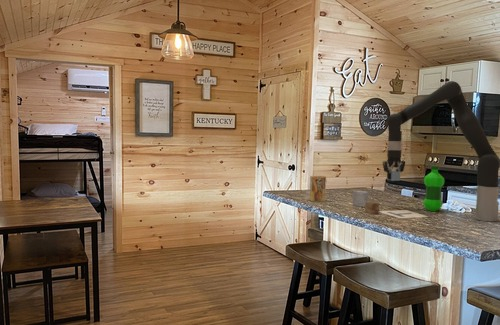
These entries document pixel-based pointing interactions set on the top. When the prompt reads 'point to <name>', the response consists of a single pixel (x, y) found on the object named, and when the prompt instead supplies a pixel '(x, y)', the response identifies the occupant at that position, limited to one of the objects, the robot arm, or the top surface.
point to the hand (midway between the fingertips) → (393, 179)
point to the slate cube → (395, 176)
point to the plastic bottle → (433, 189)
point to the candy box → (317, 188)
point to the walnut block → (372, 207)
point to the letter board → (403, 214)
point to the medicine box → (360, 198)
